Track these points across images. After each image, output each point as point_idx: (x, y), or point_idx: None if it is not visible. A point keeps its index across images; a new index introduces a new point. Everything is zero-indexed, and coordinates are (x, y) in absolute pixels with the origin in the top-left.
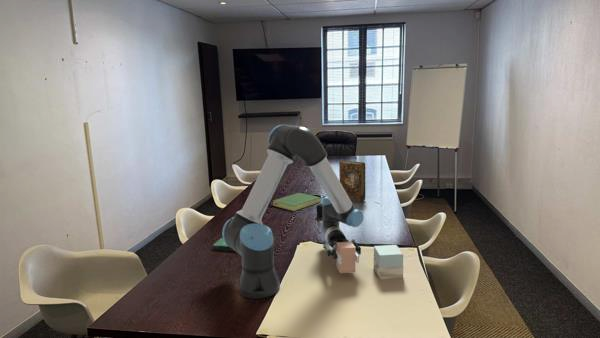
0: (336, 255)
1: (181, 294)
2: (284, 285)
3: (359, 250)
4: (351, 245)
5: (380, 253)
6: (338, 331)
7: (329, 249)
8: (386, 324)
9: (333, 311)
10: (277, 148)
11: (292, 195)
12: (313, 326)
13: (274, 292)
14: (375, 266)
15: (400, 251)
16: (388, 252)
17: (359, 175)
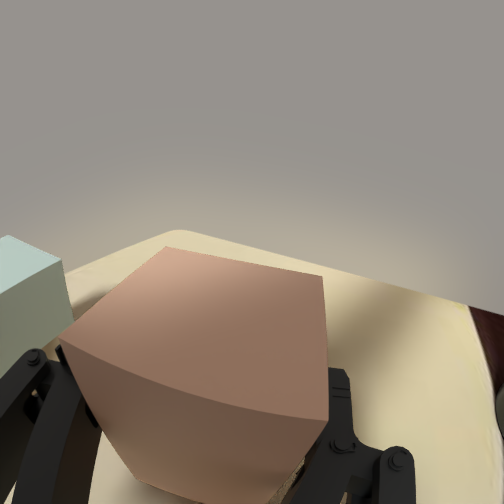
0: (328, 368)
1: None
2: (491, 440)
3: (52, 363)
4: (164, 275)
5: (38, 265)
6: (341, 272)
7: (389, 477)
8: (246, 256)
9: (344, 308)
10: None
11: None
12: (386, 291)
13: (500, 389)
14: (32, 392)
15: None
16: (11, 257)
17: None
